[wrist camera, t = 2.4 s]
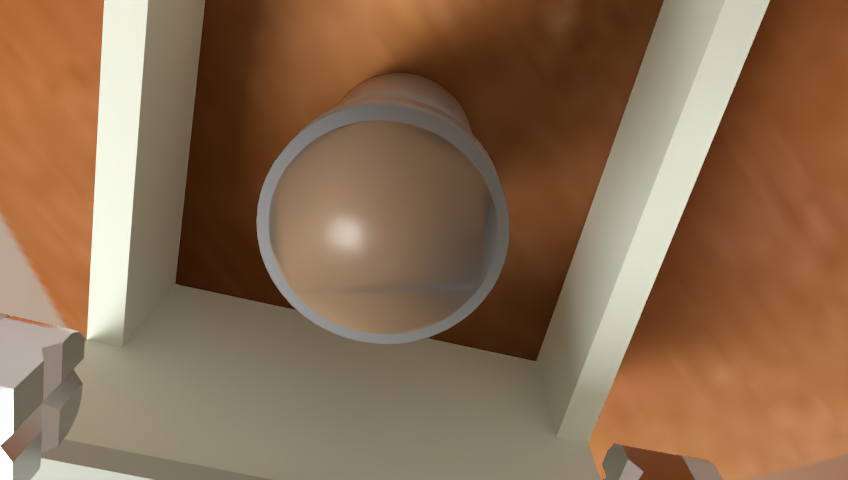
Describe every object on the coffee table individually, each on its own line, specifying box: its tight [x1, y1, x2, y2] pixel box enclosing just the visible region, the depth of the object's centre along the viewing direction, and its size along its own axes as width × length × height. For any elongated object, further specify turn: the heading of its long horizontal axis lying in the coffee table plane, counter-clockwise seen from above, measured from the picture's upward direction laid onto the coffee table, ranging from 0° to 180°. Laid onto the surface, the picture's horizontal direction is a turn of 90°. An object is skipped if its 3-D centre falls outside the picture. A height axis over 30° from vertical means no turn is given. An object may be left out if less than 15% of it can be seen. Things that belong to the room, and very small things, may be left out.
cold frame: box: [31, 0, 770, 480], centre depth 20 cm, size 18×18×11 cm
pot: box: [256, 73, 510, 344], centre depth 21 cm, size 6×6×9 cm
